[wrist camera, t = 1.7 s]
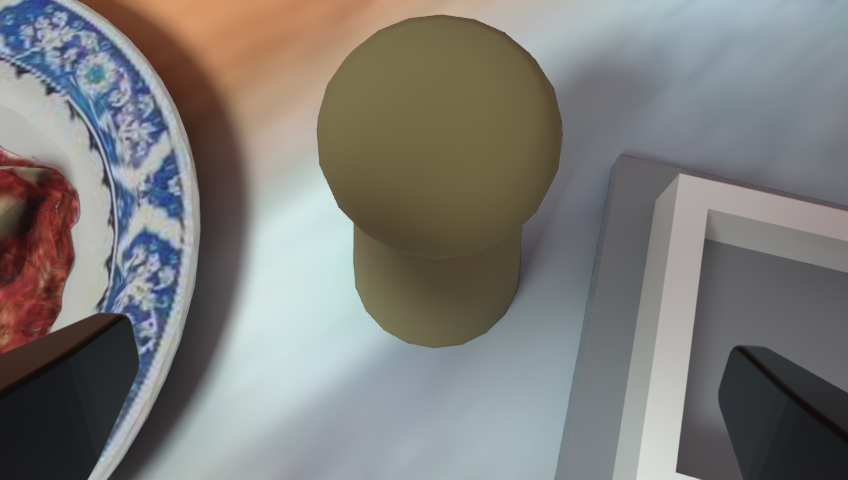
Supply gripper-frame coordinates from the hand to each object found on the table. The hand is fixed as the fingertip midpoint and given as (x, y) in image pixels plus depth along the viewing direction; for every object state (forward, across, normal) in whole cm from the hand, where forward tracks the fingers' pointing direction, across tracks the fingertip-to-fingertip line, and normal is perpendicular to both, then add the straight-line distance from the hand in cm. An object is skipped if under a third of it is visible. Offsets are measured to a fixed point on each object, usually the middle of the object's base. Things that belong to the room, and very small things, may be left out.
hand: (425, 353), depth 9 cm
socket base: (+9, -12, +7) cm, 16 cm away
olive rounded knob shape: (+12, 0, +5) cm, 13 cm away
